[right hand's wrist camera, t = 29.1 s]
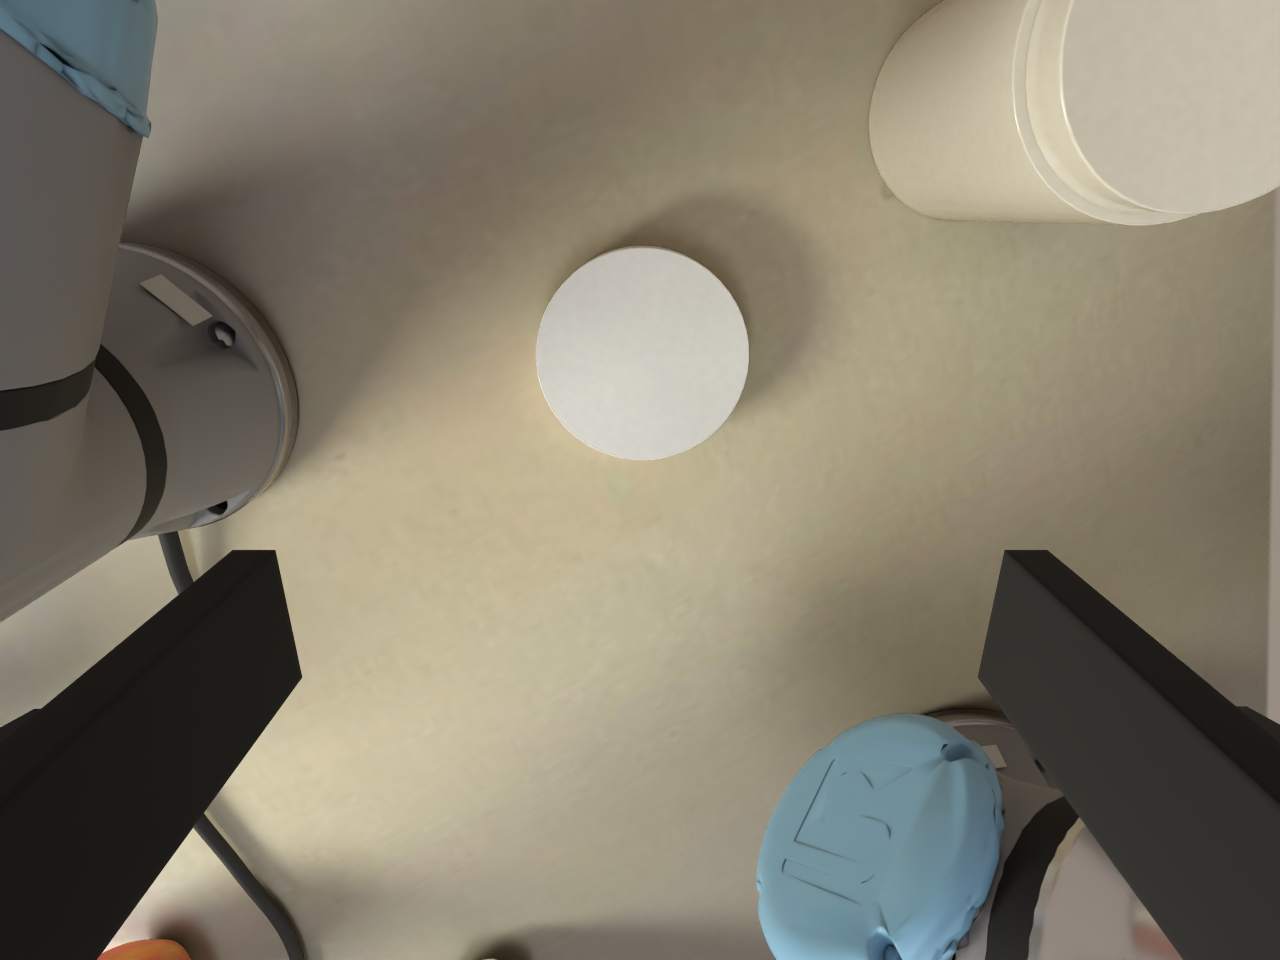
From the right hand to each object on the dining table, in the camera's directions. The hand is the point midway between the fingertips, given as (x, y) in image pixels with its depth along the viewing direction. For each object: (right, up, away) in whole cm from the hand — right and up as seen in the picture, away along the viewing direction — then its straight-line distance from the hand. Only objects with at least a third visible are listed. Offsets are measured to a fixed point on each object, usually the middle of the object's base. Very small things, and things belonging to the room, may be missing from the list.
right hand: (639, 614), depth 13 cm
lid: (0, +9, +23) cm, 25 cm away
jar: (+16, +20, +21) cm, 33 cm away
